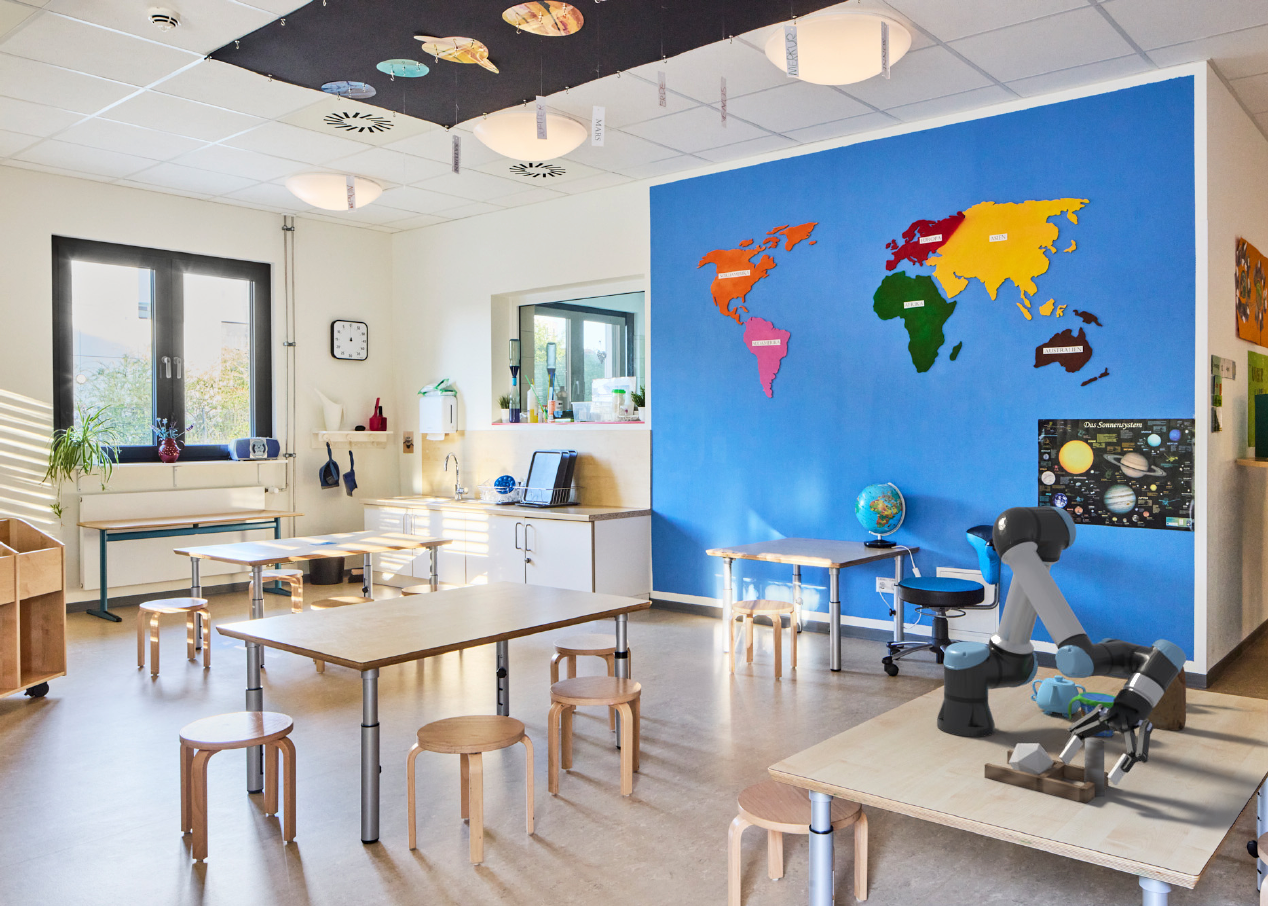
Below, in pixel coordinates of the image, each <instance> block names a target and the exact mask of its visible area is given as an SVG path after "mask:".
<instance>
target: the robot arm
mask: <svg viewBox="0 0 1268 906" xmlns="http://www.w3.org/2000/svg"><path fill="white" fill-rule="evenodd" d="M1076 537H1077V527H1076V524H1075V522H1074V521H1073V517H1072V516H1071V515H1070V513H1069V512H1068V511H1066V510H1065V509H1063V508H1061V507H1059V506H1050V505H1044V506H1014V507H1010V508H1007V509H1005V510H1003V511H1002V512H1001V513H1000V514H999V515H998V516H997V518H996V519H995V522H994V523H993V526H992V543H993V546H994V549H995V552H996V553H997V555H998V557H999V558H1000V561H1001V563H1002V564H1004V565H1008V566H1009V568H1010V569H1011V571H1012V573H1013V575H1012V578H1011V582H1010V585H1009V589H1008V592H1007V595H1006V600H1005V605H1004V607H1003V610H1002V611H1003V612H1002V614H1001V618H1000V621H999V626H998V630H997V631H996V632H993V633H991V635H990V637H989V641H988V644H986V643H983V642H980V641H960V642H954V643H952V644H949V645H948V646H947V647H946V648H945V651H944V658H943V666H944V668H943V669H944V670H943V673H944V674H943V685H944V686H943V700H942V703H941V706H940V709H939V711H938V715H937V719H936V721H937V722H936V726H937V728H938V729H940V730H941V731H943V732H946V733H948V734H952V735H956V736H963V737H988V736H992V735H993V734H995V731H996V729H995V727H996V726H995V720H994V717H993V714H992V711H991V708H990V704H989V690H995V689H996V690H997V689H1003V688H1019V687H1021V686H1026V685H1027V684H1029V683H1031V682H1033V681H1034V679H1035V677H1036V675H1037V673H1038V669H1039V661H1038V660H1037V658H1038V657H1037V654H1036V651H1034V648H1035V647H1034V645H1033V643H1032V642H1031V638H1032V634H1033V630H1034V627H1035V626H1036V625H1035V624H1036V620H1037V617H1039V618H1040V621H1041V622H1042V623H1043V625H1044V628H1045V629H1046V631H1047V632H1048V634H1049V636H1050V637H1051V639H1052V641H1053V642H1054V644H1055V646H1056V648H1057V651H1056V653H1055V658H1054V659H1055V661H1056V667H1057V670H1058V671H1059V672H1060V673H1061V674H1062V676H1065V677H1066V678H1071V679H1072V678H1073V679H1086V678H1090V677H1099V676H1109V675H1119V674H1124V675H1125V674H1126V675H1130V677H1129V678H1128V679H1127V681H1126V682H1125V683H1124V685H1122V688H1121V689H1120V690H1119V692H1118V693H1117V694H1116V697H1115V699H1114V701H1113V706H1112V707H1111V708H1110V709H1107V708H1105V707H1104V706H1103V705H1102V704H1099V705H1098V706H1097V707H1096V708H1095V709H1094V710H1093V711H1092V712H1090V713H1089V714H1087V715H1086V716H1084V717H1083V718H1082V717H1081V718H1080V719H1077V721H1075V722H1074V723H1072V724H1071V725H1069V726H1068V727H1067V731H1068V732H1069V734H1071V736H1070V738H1069V739H1068V740H1067V742H1066V743H1065V745H1064V746H1065V748H1064V749H1063V750H1062V751H1061V753H1060V754H1059V756H1058V758H1059V759H1060V760H1061V762H1064V763H1065V764H1066V765H1068V764H1071V763H1070V762H1071V761H1072V760H1073V758H1074V757H1075V755H1076V754H1077V753H1078V752H1079V750H1080V749H1081V747H1082V746H1083V744H1084V743H1083V741H1085V738H1092V737H1093V736H1094V735H1096V734H1098V733H1100V732H1103V731H1109V730H1112V731H1115V732H1117V733H1119V734H1122V735H1124V740H1125V745H1126V753H1122V755H1121V756H1120V758H1119V759H1118V760H1117V761H1116V763H1115V765H1114V766H1113V768H1112V769H1111V771H1110V772H1108V776H1107V777H1108V780H1109V782H1111V783H1112V784H1113V785H1115V786H1117V785H1118V784H1119V783H1120V781H1121V780H1122V779H1123V777H1124V776H1125V774H1128V773H1129V772H1130V771H1131V769H1132V768H1133V767H1134V765H1135V764H1136V763H1138V762H1142V763H1143V764H1146V763H1147V762H1148V760H1149V751H1150V744H1151V743H1150V742H1151V734H1152V732H1153V730H1154V729H1155V728H1154V726H1153V725H1152V724H1151V723H1150V721H1149V720H1148V719H1147V718H1148V716H1149V715H1150V713H1151V712H1152V710H1153V709H1152V707H1155V706H1156V704H1157V703H1158V701H1159V700H1160V699H1161V697H1162V696H1163V694H1164V693H1165V691H1166V690H1167V688H1168V687H1169V685H1170V684H1171V683H1172V681H1173V680H1174V679H1175V677H1176V676H1177V675H1178V673H1180V670H1181V669H1182V667H1184V665H1185V663H1186V661H1187V655H1186V653H1185V652H1184V650H1183V649H1182V648H1181V647H1179V646H1178V645H1177V644H1175V643H1174V642H1172V641H1170V640H1166V639H1164V638H1163V639H1162V638H1160V639H1157V640H1155V641H1154V642H1153V643H1152V644H1151V645H1150V647H1149V646H1146V645H1145V646H1144V645H1140V644H1136V643H1132V642H1128V641H1124V640H1122V639H1120V638H1109V637H1107V638H1102V639H1101V640H1100V641H1099V642H1096V643H1093V642H1092V640H1091V639H1090V637H1089V635H1088V634H1087V632H1086V631H1085V629H1084V628H1083V626H1082V624H1081V622H1080V620H1079V619H1078V617H1077V616H1076V615H1075V613H1074V611H1073V610H1072V608H1071V606H1070V605H1069V604H1070V603H1068V602H1067V600H1066V598H1065V596H1064V594H1063V593H1062V591H1061V589H1060V588H1059V586H1058V585H1057V583H1056V582H1055V579H1054V578H1053V577H1052V575H1051V574H1050V571H1051V567H1052V565H1054V564H1057V563H1059V561H1060V558H1061V554H1062V553H1063V551H1065V550H1067V549H1069V548H1070V547H1072V546H1073V545H1074V543H1075V541H1076ZM1105 721H1107V724H1106V723H1105ZM1138 728H1139V730H1138V737H1137V736H1136V732H1135V731H1136V729H1138ZM1136 738H1137V742H1136Z"/></svg>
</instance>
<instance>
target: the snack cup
mask: <svg viewBox="0 0 1268 906" xmlns="http://www.w3.org/2000/svg"><path fill="white" fill-rule="evenodd" d="M1116 696H1117V695H1116ZM1116 696H1115V695H1112V694H1109V693H1103V692H1096V691H1095V692H1094V691H1088V692H1087V691H1086V692H1083V691H1082V692H1081V693H1080V692H1079V695H1078V696H1076V697H1074V698H1073V699H1072V700H1071V701H1070V703H1069V706H1068V714H1069V718H1068V719H1070V720H1072V719H1073V717H1072V714H1071V712H1072V703H1073V702H1075V701H1076V700H1078V701H1080V705H1081V707H1080V713H1081V718H1083V717H1084V716H1086V715H1087V714H1089V713H1090V712H1092V711H1093V710H1094V709H1095V708H1096V707H1097V706H1098V705H1099V704H1102V705H1103V706H1104V707H1105V708H1107V709H1110V708H1111V707H1112V706H1113V701H1114V699H1115V697H1116ZM1105 723H1106V724H1107V721H1105ZM1115 732H1116V731H1112V730H1109V731H1103V732H1100V733H1098V734H1096V735H1093V736H1094V737H1107V738H1110V737H1112V736H1113V735H1114V734H1116V733H1115Z"/></svg>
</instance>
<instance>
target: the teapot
mask: <svg viewBox="0 0 1268 906" xmlns="http://www.w3.org/2000/svg"><path fill="white" fill-rule="evenodd" d="M1036 683H1041V684H1040V686H1039V688H1038V690H1037V689H1036ZM1031 688H1032V690H1033V694H1031V695H1030V699H1031V700H1032V701H1033V702H1036V704H1037V706H1038V708H1039V709H1040V710H1043V714H1044V715H1046V716H1047V715H1048V716H1050V715H1052V713H1057V714H1058V713H1059V714H1062V717H1063V718H1066V717H1067V719H1070V718H1069V714H1068V706H1069V703H1070V701H1071V700H1072V699H1073V698H1074V697H1076V696H1078V695H1079V694H1080V692H1079V690H1078V688H1079V689H1081V690H1082V693H1083V692H1087V690H1086V687H1084V686H1083V685H1082V684H1076V683H1075V682H1074V680H1070V679H1066V678H1065V677H1064V675H1054V676H1053V677H1046V678H1044V679H1035V680H1032V684H1031ZM1080 709H1081V705H1080V701H1078V700H1076V701H1075V702H1073V703H1072V712H1071V715H1072V714H1075V713H1077V712H1078V711H1079V710H1080Z"/></svg>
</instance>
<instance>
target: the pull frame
mask: <svg viewBox="0 0 1268 906" xmlns="http://www.w3.org/2000/svg"><path fill="white" fill-rule="evenodd" d="M1105 743H1106V742H1105V740H1103V739H1102V738H1098V737H1097V738H1096V737H1089V738H1085V739H1084V766H1081V765H1077V764H1073V763H1069V764H1068V765H1066V764H1065V763H1064V762H1063V761H1059V760H1056V759H1052V760H1053V764H1052V767H1051V768H1050V769H1048V770H1047V771H1045V772H1044V773H1042V774H1041V775H1039V776H1038V775H1034V774H1030V773H1026V772H1022V771H1018V770H1014V769H1013V768H1009V767H1005V766H1001V765H996V764H994V763H993V764H992V763H989V762H987V763H985V764H984V778H986V779H990V780H994V781H998V782H1002V783H1006V784H1010V785H1014V786H1018V787H1022V788H1025V789H1029V790H1032V791H1037V792H1041V793H1046V794H1047V795H1048V794H1049V795H1052V796H1056V797H1061V798H1064V799H1069V800H1071V801H1076V802H1080V803H1084V804H1088V802H1090V801H1091V800H1093V799H1094V798H1096V797H1099V798H1100V797H1104V796H1105V789H1106V788H1107V787H1108V786H1109V778H1108V777H1107V776H1108V775H1109V772H1106V771H1105V748H1106V747H1105ZM1013 752H1014V750H1012V749H1009V750H1007V753H1006V756H1007V758H1006V759H1007V760H1006V761H1007V762H1006V764H1008V765H1010V764H1009V761H1010V758H1011V756H1012V754H1013ZM1064 778H1066V779H1071V780H1074V781H1077V782H1078V781H1079V782H1083V783H1084V784H1082V785H1078V784H1073V783H1070V782H1066V781H1063V779H1064Z"/></svg>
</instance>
